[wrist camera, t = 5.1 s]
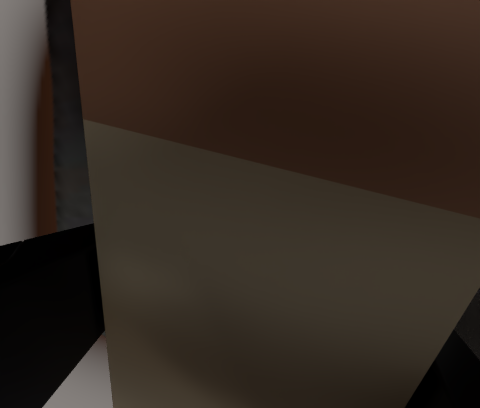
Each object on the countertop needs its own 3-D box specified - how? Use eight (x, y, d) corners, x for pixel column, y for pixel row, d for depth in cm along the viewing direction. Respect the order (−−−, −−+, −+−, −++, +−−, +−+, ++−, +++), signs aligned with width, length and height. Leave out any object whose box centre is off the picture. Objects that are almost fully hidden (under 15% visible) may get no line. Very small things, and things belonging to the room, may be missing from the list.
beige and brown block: (334, 399, 12) (318, 544, 9) (182, 337, 13) (116, 441, 10) (508, 7, 6) (674, -24, 3) (203, -28, 7) (62, -76, 4)
